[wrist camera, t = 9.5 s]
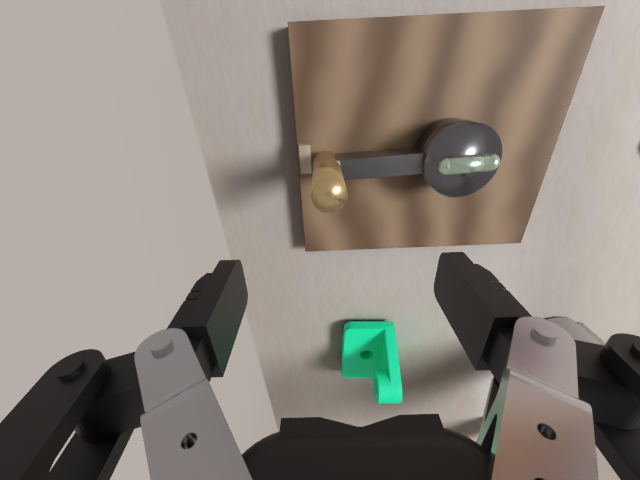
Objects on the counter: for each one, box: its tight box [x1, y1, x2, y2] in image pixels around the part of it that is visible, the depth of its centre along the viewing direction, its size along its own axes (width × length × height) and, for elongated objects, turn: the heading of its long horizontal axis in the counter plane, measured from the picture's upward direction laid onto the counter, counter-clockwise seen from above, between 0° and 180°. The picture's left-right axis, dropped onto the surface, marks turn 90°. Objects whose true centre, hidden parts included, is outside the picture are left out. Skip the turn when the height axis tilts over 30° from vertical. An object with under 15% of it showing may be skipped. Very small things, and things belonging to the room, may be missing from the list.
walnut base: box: [288, 6, 605, 251], centre depth 31 cm, size 28×24×3 cm
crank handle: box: [311, 118, 502, 213], centre depth 26 cm, size 18×7×11 cm, turn 95°
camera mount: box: [341, 321, 403, 404], centre depth 43 cm, size 12×8×10 cm, turn 179°
